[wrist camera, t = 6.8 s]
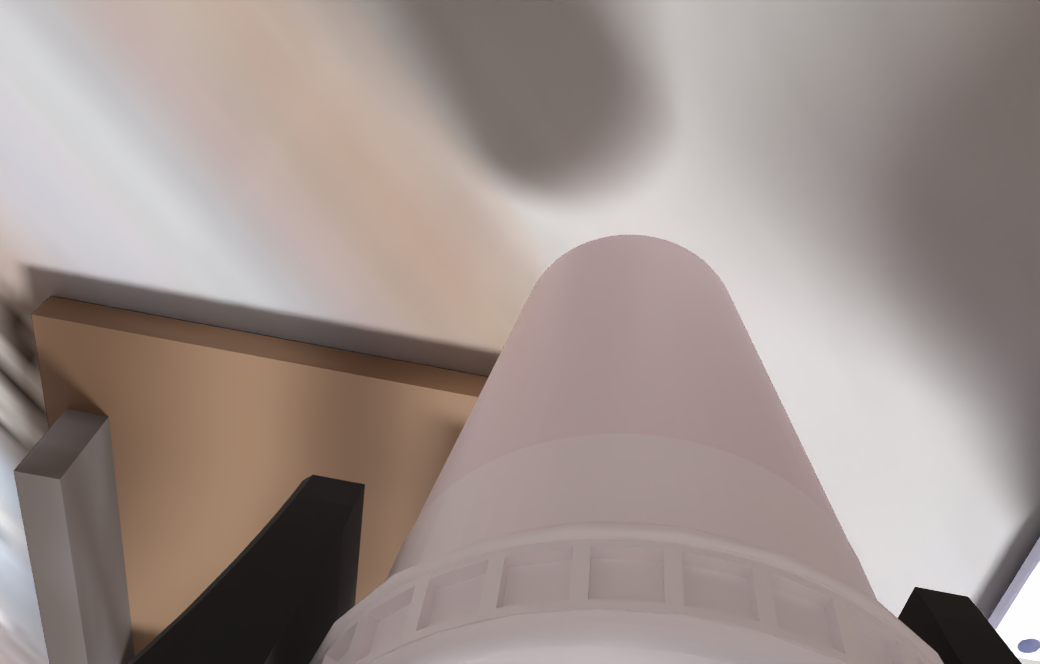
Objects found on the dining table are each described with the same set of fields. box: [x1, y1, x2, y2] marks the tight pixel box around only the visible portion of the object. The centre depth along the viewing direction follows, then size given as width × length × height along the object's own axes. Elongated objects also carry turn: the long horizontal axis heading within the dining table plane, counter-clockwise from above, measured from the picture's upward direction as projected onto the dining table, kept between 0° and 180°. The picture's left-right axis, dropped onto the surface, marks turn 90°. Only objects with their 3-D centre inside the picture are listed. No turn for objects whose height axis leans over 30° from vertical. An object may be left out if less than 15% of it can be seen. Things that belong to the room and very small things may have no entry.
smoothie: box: [309, 235, 944, 664], centre depth 11 cm, size 6×6×14 cm
